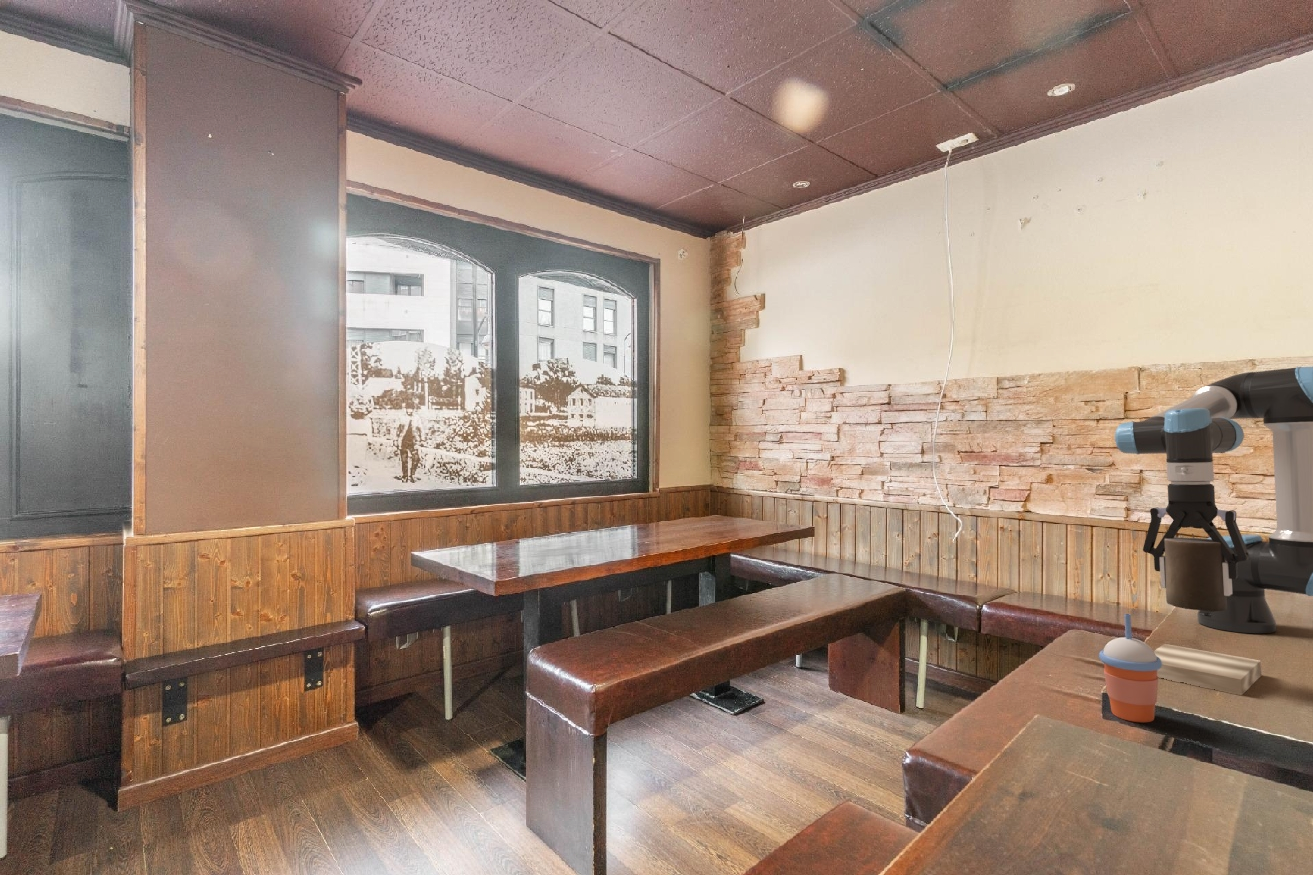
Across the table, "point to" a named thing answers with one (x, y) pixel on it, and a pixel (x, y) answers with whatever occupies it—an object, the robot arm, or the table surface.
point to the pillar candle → (1194, 574)
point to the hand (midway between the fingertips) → (1195, 590)
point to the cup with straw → (1131, 676)
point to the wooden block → (1207, 669)
